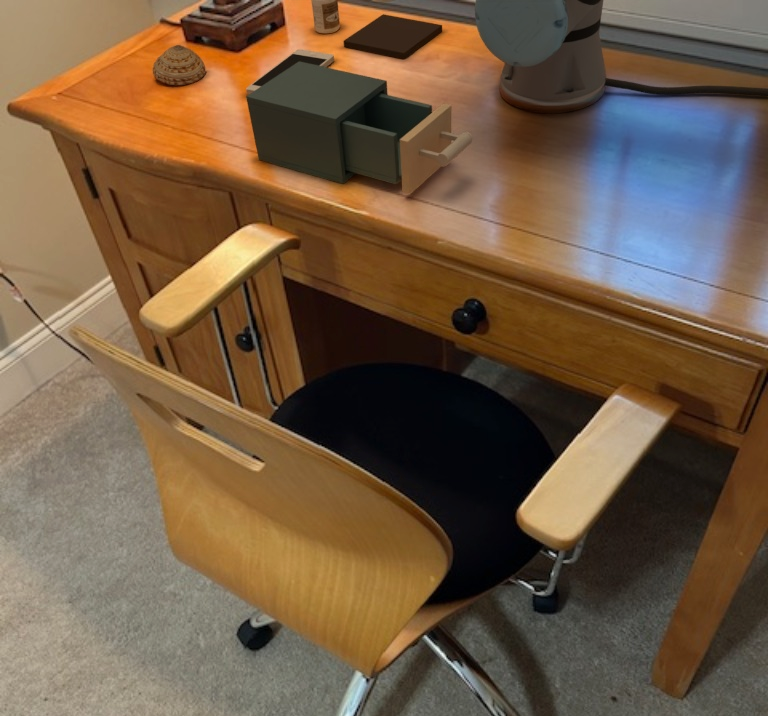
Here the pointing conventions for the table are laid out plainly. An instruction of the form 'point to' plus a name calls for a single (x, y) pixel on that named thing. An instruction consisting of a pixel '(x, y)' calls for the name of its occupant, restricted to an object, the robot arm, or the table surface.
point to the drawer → (400, 140)
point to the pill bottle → (326, 15)
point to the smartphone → (292, 59)
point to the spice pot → (382, 0)
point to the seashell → (178, 66)
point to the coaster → (393, 36)
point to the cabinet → (308, 117)
